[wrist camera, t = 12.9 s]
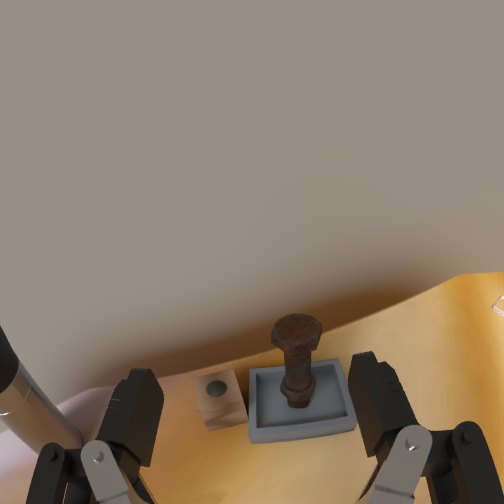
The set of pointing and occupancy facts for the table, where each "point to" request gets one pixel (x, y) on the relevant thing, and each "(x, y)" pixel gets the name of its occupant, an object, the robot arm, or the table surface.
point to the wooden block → (220, 400)
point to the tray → (299, 420)
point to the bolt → (297, 356)
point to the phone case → (497, 308)
